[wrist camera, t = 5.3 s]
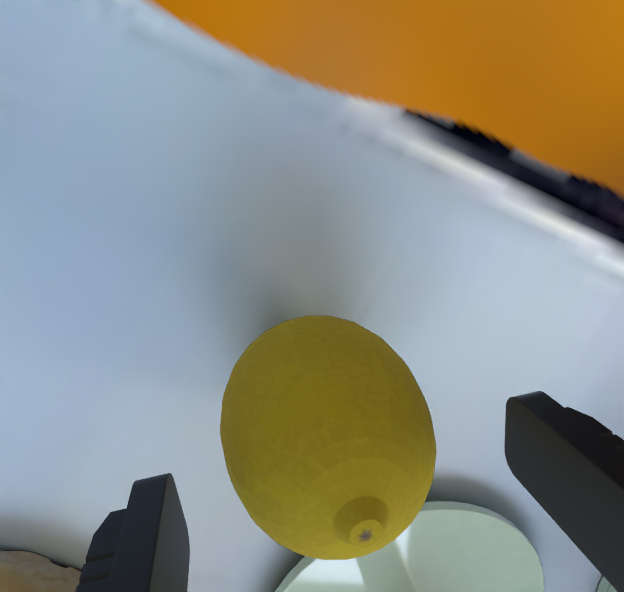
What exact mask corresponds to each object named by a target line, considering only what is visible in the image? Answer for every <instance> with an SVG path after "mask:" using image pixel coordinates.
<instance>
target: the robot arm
mask: <svg viewBox="0 0 624 592" xmlns="http://www.w3.org/2000/svg"><path fill="white" fill-rule="evenodd" d="M505 456H506V460H507V463H508V465H509V468H510V470H511V471H512V473H513V474H514V476H515V477H516V478H517V479H518V480H519V482H520V483H521V484H522V485H523V486H524V487H525V488H526V489H527V491H528V492H529V493H530V494H531V495H532V496H533V497H534V498H535V500H536V501H537V502H538V503H539V504H540V505H541V506H542V507H543V509H544V510H545V511H546V512H547V513H548V514H549V515H550V516H551V518H552V519H553V520H554V521H555V522H556V523H557V524H558V525H559V527H560V528H561V529H562V530H563V531H564V532H565V533H566V534H567V536H568V537H569V538H570V539H571V540H572V541H573V542H574V543H575V545H576V546H577V547H578V548H579V549H580V550H581V551H582V552H583V554H584V555H585V556H586V557H587V558H588V559H589V560H590V561H591V563H592V564H593V565H594V566H595V567H596V568H597V569H598V570H599V572H600V573H601V574H602V575H603V576H604V577H605V578H606V579H607V581H608V582H609V583H610V584H611V585H612V586H613V587H614V588H615V589H616V591H617V592H624V440H623V439H621V438H620V437H619V436H617V435H616V434H615V435H613V434H612V431H610V430H609V429H608V428H606V427H605V426H603V425H602V424H601V423H599V422H598V421H597V420H595V419H594V418H593V417H590V416H588V415H586V414H583V413H581V412H579V411H576V410H574V409H572V408H569V407H566V408H564V407H563V406H561V405H560V404H559V403H557V402H556V401H555V400H553V399H552V398H551V397H549V396H548V395H547V394H545V393H544V392H541V391H537V392H533V393H528V394H524V395H520V396H515V397H511V398H509V399H508V401H507V403H506V420H505ZM189 558H190V547H189V536H188V529H187V525H186V521H185V518H184V514H183V510H182V507H181V503H180V500H179V496H178V492H177V489H176V485H175V482H174V478H173V476H172V474H171V473H168V474H163V475H159V476H155V477H150V478H146V479H141V480H137V481H135V482H134V483H133V486H132V490H131V493H130V497H129V501H128V505H127V509H122V510H118V511H114V512H110V514H109V515H108V516H107V518H106V519H105V520H104V522H103V523H102V524H101V526H100V527H99V528H98V530H97V531H96V532H95V534H94V535H93V538H92V541H91V544H90V547H89V550H88V553H87V557H86V564H84V566H83V569H82V572H81V575H80V578H79V585H77V587H76V590H75V592H187V585H188V572H189Z"/></svg>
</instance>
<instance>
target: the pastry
mask: <svg viewBox="0 0 624 592" xmlns="http://www.w3.org/2000/svg"><path fill="white" fill-rule="evenodd" d="M80 575H81V571H79V570H77V569H75V568H73V567H68V568H64V567H61V566H58V565H55V564H53V563H51V561H50V560H49V559H48V558H46V557H43V556H40V555H38V554H35V553H31V552H26V551H0V592H75V590H76V587H77V585H79V578H80Z"/></svg>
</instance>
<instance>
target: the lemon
mask: <svg viewBox="0 0 624 592" xmlns="http://www.w3.org/2000/svg"><path fill="white" fill-rule="evenodd" d="M220 434H221V442H222V447H223V451H224V456H225V461H226V465H227V470H228V473H229V476H230V479H231V482H232V484H233V486H234V489H235V491H236V492H237V494H238V496H239V498H240V500H241V501H242V503H243V505H244V506H245V508H246V510H247V512H248V513H249V515H250V517H251V518H252V519H253V520H254V522H255V523H256V524H257V525H258V526H259V527H260V528H261V529H262V530H263V531H264V532H265V533H266V534H268V535H269V536H270V537H271V538H272V539H273V540H274V541H276V542H277V543H278V544H280V545H282V546H284V547H286V548H288V549H290V550H292V551H294V552H296V553H298V554H301V555H303V556H307V557H312V558H317V559H322V560H348V559H353V558H357V557H362V556H365V555H368V554H370V553H372V552H375V551H377V550H380V549H381V548H383V547H384V546H386V545H387V544H389V543H390V542H392V541H393V540H395V539H396V538H397V537H398V536H399V535H400V534H401V533H402V532H403V531H404V530H405V529H406V528H407V527H408V526H409V525H410V524H411V523H412V522H413V520H414V519H415V517H416V516H417V514H418V513H419V511H420V510H421V508H422V507H423V505H424V502H425V500H426V498H427V495H428V492H429V490H430V487H431V485H432V482H433V476H434V468H435V459H436V442H435V436H434V430H433V425H432V420H431V416H430V411H429V409H428V406H427V403H426V400H425V398H424V396H423V394H422V392H421V390H420V388H419V386H418V384H417V382H416V380H415V378H414V376H413V374H412V373H411V371H410V369H409V367H408V366H407V365H406V363H405V362H404V361H403V360H402V359H401V358H400V357H399V356H398V354H397V353H396V352H395V351H394V350H393V349H392V348H391V347H390V346H389V345H388V344H387V343H386V342H385V341H384V340H383V339H382V338H380V337H379V336H378V335H376V334H374V333H372V332H371V331H369V330H367V329H365V328H364V327H362V326H360V325H358V324H357V323H355V322H352V321H348V320H344V319H340V318H336V317H332V316H303V317H299V318H295V319H291V320H287V321H284V322H282V323H280V324H278V325H276V326H274V327H272V328H271V329H269V330H267V331H266V332H264V333H263V334H262V335H261V336H260V337H258V338H257V339H256V340H255V341H254V342H252V343H251V344H250V345H249V346H248V348H247V349H246V350H245V352H244V353H243V354H242V356H241V357H240V359H239V360H238V361H237V363H236V364H235V366H234V368H233V371H232V373H231V376H230V378H229V381H228V384H227V386H226V389H225V392H224V396H223V402H222V413H221V425H220Z"/></svg>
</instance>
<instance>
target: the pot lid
mask: <svg viewBox="0 0 624 592" xmlns="http://www.w3.org/2000/svg"><path fill="white" fill-rule="evenodd" d="M275 592H544V575H543V570H542V565H541V562H540V559H539V557H538V554H537V552H536V550H535V549H534V547H533V546H532V544H531V543H530V541H529V540H528V539H527V537H526V536H525V535H524V534H523V533H522V532H521V530H520V529H519V528H518V527H517V526H516V525H515V524H513V523H512V522H511V521H509V520H508V519H506V518H505V517H504V516H502V515H500V514H498V513H496V512H494V511H492V510H489V509H487V508H484V507H480V506H477V505H474V504H469V503H462V502H455V501H431V502H424V505H423V507H422V508H421V510H420V511H419V513H418V514H417V516H416V517H415V519H414V520H413V522H412V523H411V524H410V525H409V526H408V527H407V528H406V529H405V530H404V531H403V532H402V533H401V534H400V535H399V536H398V537H397V538H396V539H395V540H393V541H392V542H390V543H389V544H387V545H386V546H384V547H383V548H381V549H380V550H377V551H375V552H372V553H370V554H368V555H365V556H362V557H357V558H353V559H348V560H322V559H317V558H312V557H307V556H305V557H304V558H302V559H301V560H300V561H299V563H298V564H297V565H296V566H295V567H294V568H293V569H292V570H291V571H290V572H289V573H288V574H287V576H286V577H285V578H284V580H283V581H282V582H281V584H280V585H279V586H278V588H277V589H276V591H275Z"/></svg>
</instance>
